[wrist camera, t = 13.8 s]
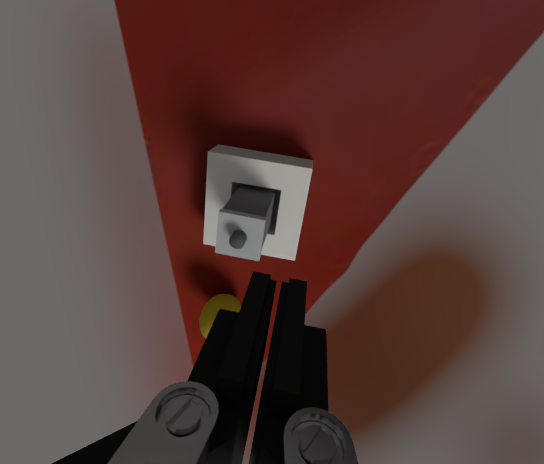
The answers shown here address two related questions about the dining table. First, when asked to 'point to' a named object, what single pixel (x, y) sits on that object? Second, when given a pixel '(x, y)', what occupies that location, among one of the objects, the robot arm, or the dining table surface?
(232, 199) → the plug
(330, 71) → the dining table surface
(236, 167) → the socket
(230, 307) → the lemon
